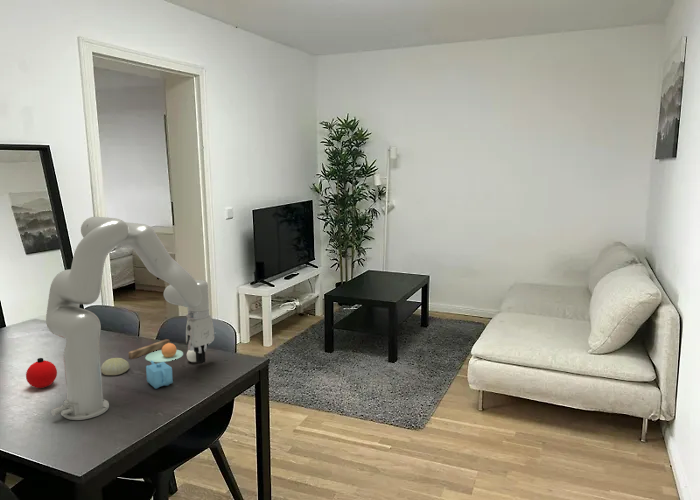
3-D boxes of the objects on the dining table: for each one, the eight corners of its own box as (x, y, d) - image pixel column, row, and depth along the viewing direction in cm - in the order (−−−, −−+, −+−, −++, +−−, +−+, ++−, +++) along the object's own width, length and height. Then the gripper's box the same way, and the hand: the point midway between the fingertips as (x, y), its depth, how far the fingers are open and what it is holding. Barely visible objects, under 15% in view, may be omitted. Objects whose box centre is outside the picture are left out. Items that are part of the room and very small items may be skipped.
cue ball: (188, 343, 199) (182, 355, 200) (193, 353, 196) (187, 364, 197) (200, 344, 203) (194, 356, 204) (206, 354, 199) (200, 365, 201)
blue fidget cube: (143, 380, 183) (142, 360, 182) (160, 376, 187) (159, 356, 186) (156, 392, 174) (155, 370, 173) (174, 387, 178) (173, 365, 177)
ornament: (63, 384, 179) (61, 356, 177) (36, 394, 171) (33, 365, 170) (48, 379, 184) (45, 351, 182) (21, 388, 176) (18, 360, 174)
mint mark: (161, 364, 197) (161, 364, 197) (137, 357, 204) (137, 357, 204) (190, 353, 209) (190, 353, 209) (166, 347, 216) (166, 346, 216)
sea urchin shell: (121, 373, 185) (105, 356, 185) (107, 386, 187) (92, 370, 187) (136, 363, 194) (121, 347, 194) (123, 376, 196) (109, 361, 196)
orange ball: (160, 342, 202) (156, 353, 205) (169, 351, 200) (165, 362, 202) (172, 338, 207) (168, 348, 209) (181, 347, 205) (177, 357, 207)
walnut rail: (132, 359, 203) (131, 353, 202) (128, 358, 204) (128, 352, 203) (169, 345, 218) (169, 339, 218) (166, 344, 219) (166, 339, 219)
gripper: (190, 320, 185) (192, 370, 188) (221, 310, 198) (222, 357, 200) (175, 317, 189) (177, 366, 192) (206, 308, 201) (208, 354, 204)
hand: (200, 361), depth 196 cm, fingers closed
